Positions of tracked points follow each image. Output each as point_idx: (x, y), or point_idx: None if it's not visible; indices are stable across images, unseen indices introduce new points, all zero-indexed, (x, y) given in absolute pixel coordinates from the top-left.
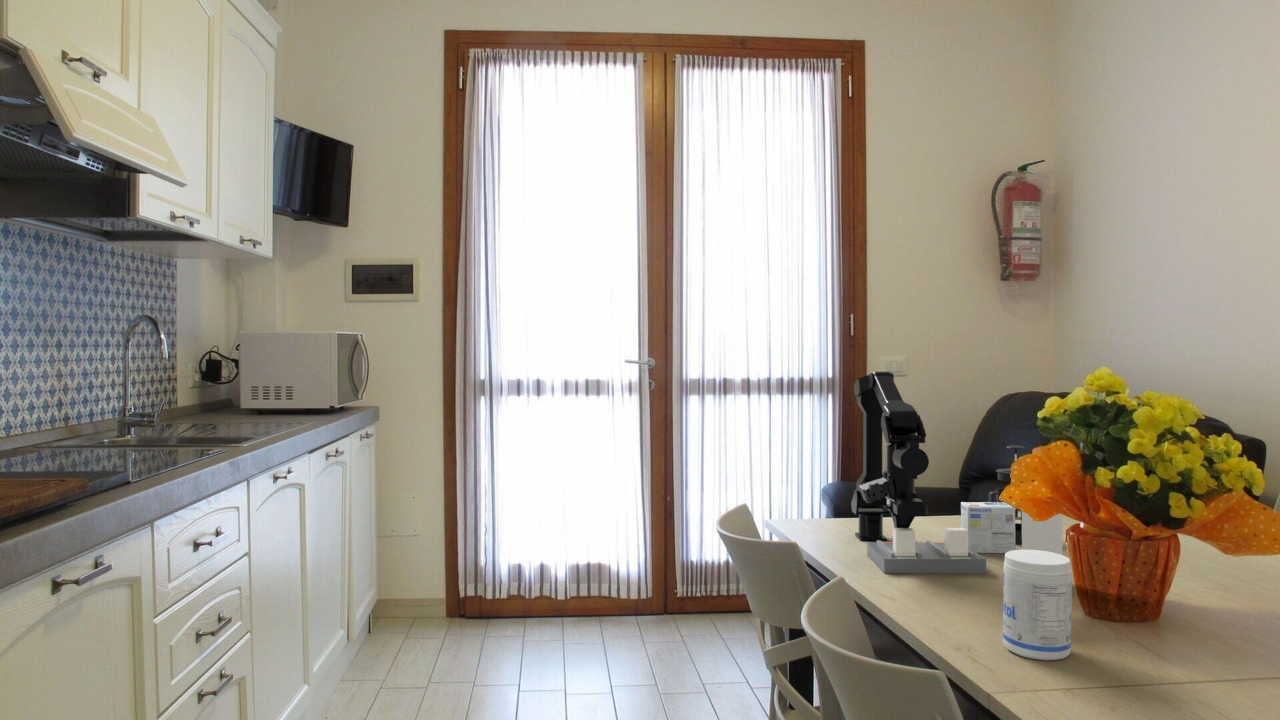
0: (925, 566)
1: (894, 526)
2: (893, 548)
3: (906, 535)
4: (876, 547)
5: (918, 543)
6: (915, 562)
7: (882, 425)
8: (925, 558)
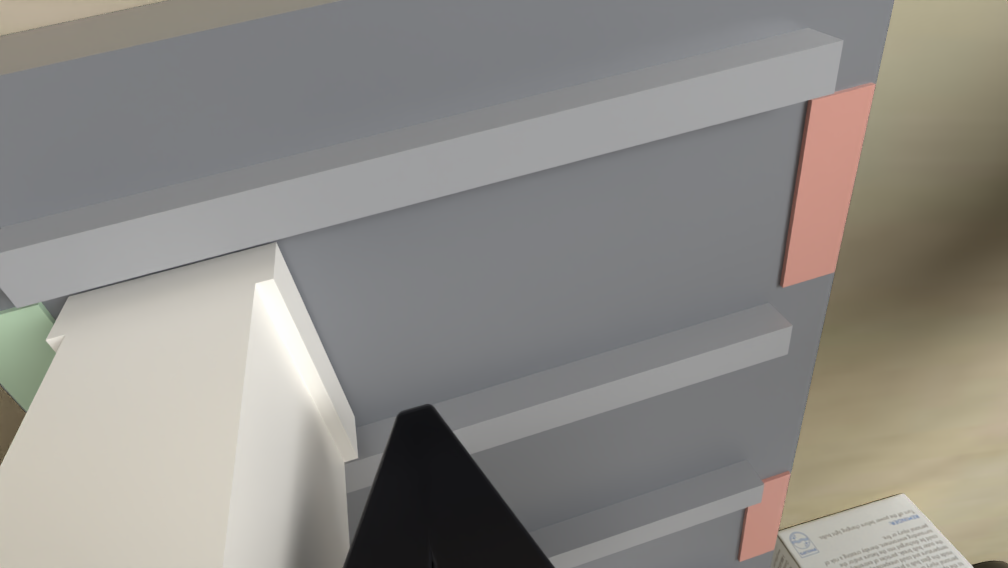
0: None
1: (515, 538)
2: (225, 296)
3: None
4: (601, 14)
5: (769, 414)
6: None
7: None
8: None
